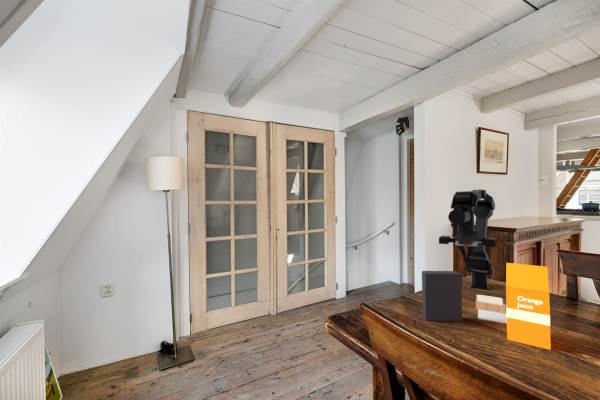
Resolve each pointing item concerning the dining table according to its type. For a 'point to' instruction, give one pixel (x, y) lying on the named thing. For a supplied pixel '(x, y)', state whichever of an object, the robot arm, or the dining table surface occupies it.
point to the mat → (492, 316)
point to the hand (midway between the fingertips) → (466, 263)
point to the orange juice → (528, 304)
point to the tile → (490, 304)
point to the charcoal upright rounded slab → (442, 295)
